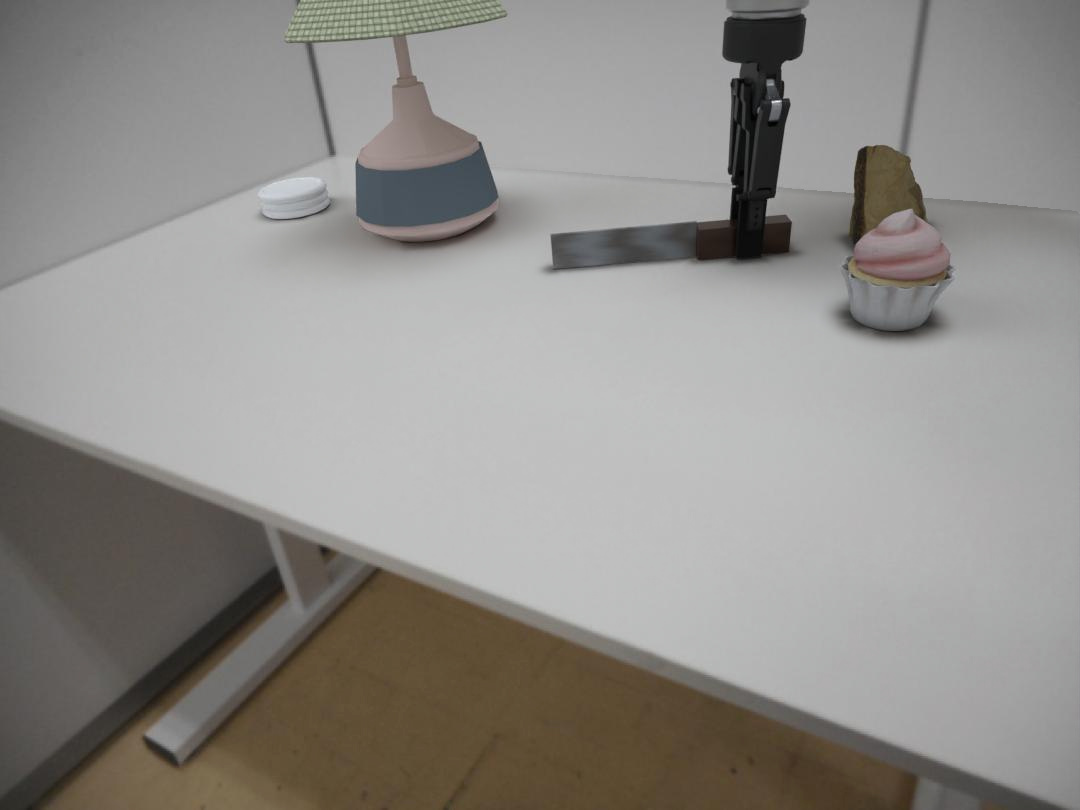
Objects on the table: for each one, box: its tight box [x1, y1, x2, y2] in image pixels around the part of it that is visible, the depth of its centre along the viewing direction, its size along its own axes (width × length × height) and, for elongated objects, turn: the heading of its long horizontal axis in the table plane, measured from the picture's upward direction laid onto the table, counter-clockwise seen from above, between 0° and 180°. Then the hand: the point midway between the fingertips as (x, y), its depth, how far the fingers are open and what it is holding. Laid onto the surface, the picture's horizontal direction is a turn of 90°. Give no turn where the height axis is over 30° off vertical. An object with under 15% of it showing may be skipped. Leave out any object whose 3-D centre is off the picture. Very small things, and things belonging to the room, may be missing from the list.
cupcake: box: [839, 209, 957, 332], centre depth 65 cm, size 9×9×10 cm
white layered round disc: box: [257, 176, 331, 220], centre depth 111 cm, size 10×10×4 cm
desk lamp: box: [282, 0, 509, 243], centre depth 89 cm, size 26×28×42 cm
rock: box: [848, 144, 928, 246], centre depth 81 cm, size 11×9×10 cm
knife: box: [550, 214, 793, 270], centre depth 82 cm, size 26×2×4 cm, turn 90°
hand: (744, 250), depth 83 cm, fingers open, 3 cm apart
